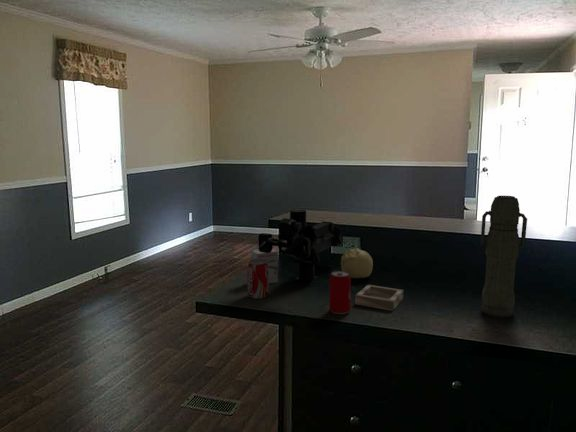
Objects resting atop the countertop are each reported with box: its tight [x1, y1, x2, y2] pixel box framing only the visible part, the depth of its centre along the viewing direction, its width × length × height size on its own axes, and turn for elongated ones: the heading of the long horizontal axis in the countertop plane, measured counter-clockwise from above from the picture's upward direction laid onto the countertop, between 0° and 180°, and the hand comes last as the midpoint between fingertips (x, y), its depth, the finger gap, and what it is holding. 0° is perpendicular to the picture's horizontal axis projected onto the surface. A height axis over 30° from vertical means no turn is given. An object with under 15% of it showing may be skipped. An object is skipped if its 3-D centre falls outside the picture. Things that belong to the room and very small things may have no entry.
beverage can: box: [329, 270, 352, 315], centre depth 142 cm, size 6×6×12 cm
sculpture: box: [340, 247, 374, 279], centre depth 177 cm, size 12×12×11 cm
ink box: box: [250, 249, 279, 284], centre depth 170 cm, size 9×5×12 cm, turn 117°
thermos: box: [480, 195, 528, 318], centre depth 139 cm, size 9×12×35 cm
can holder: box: [354, 284, 404, 312], centre depth 151 cm, size 12×12×3 cm
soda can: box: [246, 259, 270, 300], centre depth 155 cm, size 7×7×12 cm
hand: (271, 250), depth 149 cm, fingers open, 9 cm apart
